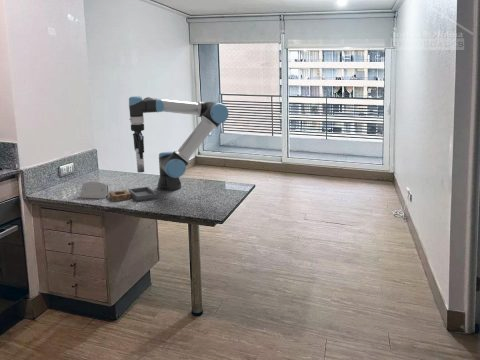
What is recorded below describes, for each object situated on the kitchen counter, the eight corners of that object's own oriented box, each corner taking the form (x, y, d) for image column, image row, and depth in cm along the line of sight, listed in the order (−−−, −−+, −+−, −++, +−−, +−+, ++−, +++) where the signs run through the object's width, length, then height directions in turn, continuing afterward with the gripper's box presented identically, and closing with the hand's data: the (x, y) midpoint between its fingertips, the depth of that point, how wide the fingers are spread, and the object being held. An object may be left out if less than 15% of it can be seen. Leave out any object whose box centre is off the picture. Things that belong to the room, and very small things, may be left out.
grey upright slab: (78, 197, 273) (80, 180, 274) (82, 197, 278) (83, 181, 279) (106, 198, 272) (107, 181, 273) (109, 198, 276) (110, 182, 277)
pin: (143, 170, 274) (141, 147, 271) (145, 172, 271) (143, 148, 267) (136, 171, 272) (134, 148, 269) (138, 172, 269) (136, 149, 266)
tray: (147, 191, 286) (147, 186, 285) (157, 198, 271) (157, 193, 270) (128, 193, 280) (128, 189, 280) (137, 201, 265) (137, 196, 264)
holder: (126, 194, 279) (125, 189, 278) (130, 198, 270) (130, 194, 269) (109, 197, 274) (109, 192, 273) (113, 201, 265) (113, 196, 265)
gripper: (126, 122, 270) (130, 161, 276) (135, 126, 255) (138, 166, 261) (139, 121, 273) (142, 159, 279) (148, 124, 259) (150, 165, 265)
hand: (140, 163), depth 270 cm, fingers closed on pin, 4 cm apart
